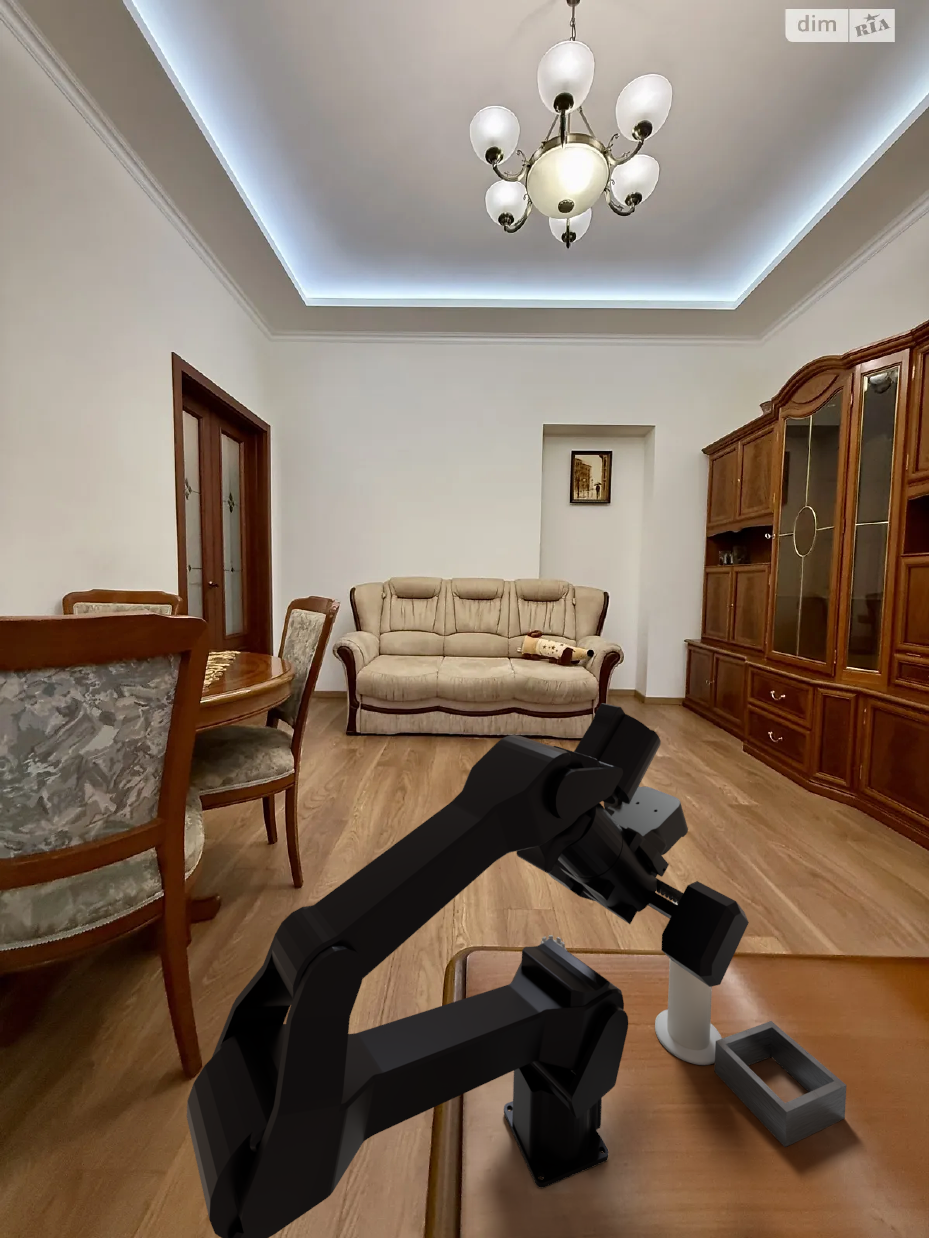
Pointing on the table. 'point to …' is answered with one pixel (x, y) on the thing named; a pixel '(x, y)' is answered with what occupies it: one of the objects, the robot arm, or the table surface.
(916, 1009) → the table surface
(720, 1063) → the frame
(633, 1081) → the table surface
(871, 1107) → the table surface
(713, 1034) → the white oval disc
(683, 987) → the cream peg
